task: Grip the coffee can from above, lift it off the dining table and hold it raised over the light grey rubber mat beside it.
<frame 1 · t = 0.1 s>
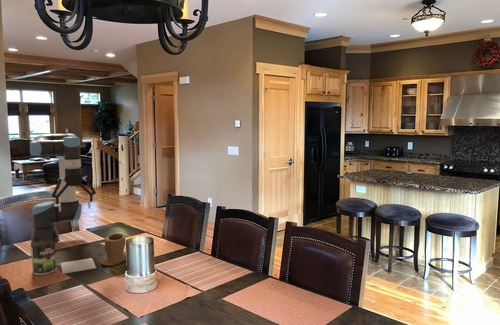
hand: (74, 209, 199), 28 cm above the table, tool pointing down, fingers open, 13 cm apart
grey mat: (78, 266, 197), on the table
coffee can: (44, 271, 191), on the table
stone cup: (116, 262, 203), on the table
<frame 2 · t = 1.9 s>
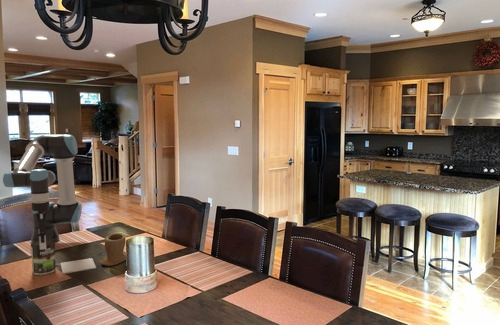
hand: (42, 245, 189), 13 cm above the table, tool pointing down, fingers open, 13 cm apart
nothing on the table moved.
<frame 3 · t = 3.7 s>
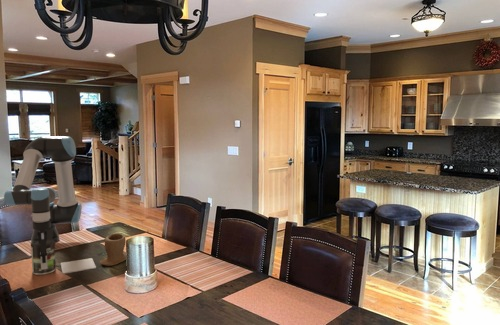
hand: (44, 265, 191), 3 cm above the table, tool pointing down, fingers closed on coffee can, 10 cm apart
coffee can: (44, 271, 191), on the table, touching gripper
everything else where it was.
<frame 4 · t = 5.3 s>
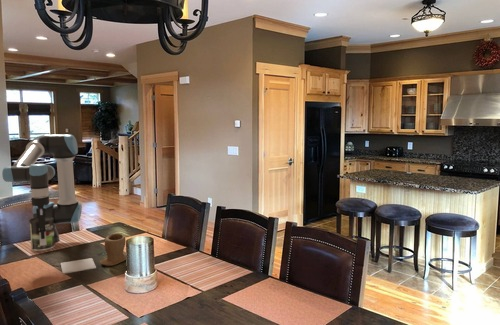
hand: (42, 241, 190), 14 cm above the table, tool pointing down, fingers closed on coffee can, 10 cm apart
coffee can: (43, 247, 190), point 11 cm above the table, touching gripper
everything else where it was.
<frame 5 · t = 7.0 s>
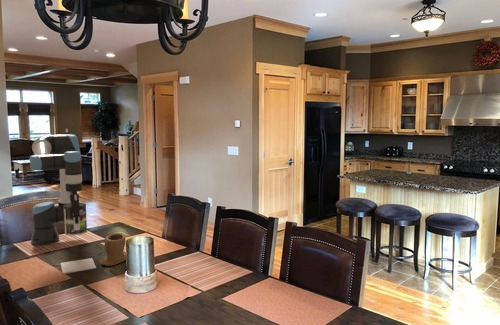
hand: (75, 227, 195), 20 cm above the table, tool pointing down, fingers closed on coffee can, 10 cm apart
coffee can: (76, 233, 196), point 17 cm above the table, touching gripper
everything else where it was.
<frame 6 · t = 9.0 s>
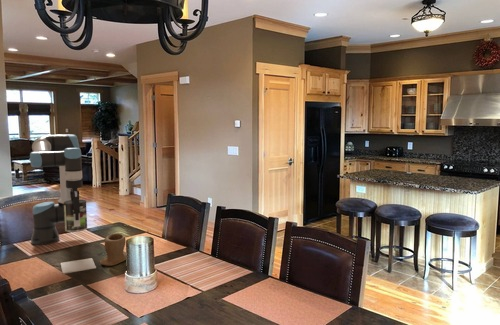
hand: (76, 223, 195), 22 cm above the table, tool pointing down, fingers closed on coffee can, 10 cm apart
coffee can: (76, 229, 196), point 19 cm above the table, touching gripper
everything else where it was.
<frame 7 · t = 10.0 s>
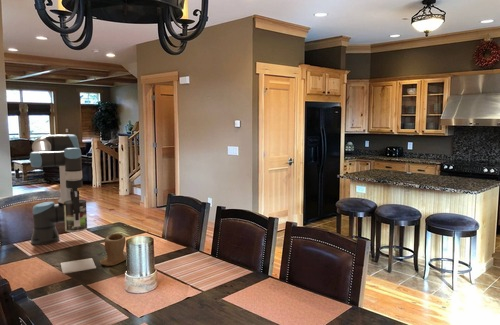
hand: (76, 223, 195), 22 cm above the table, tool pointing down, fingers closed on coffee can, 10 cm apart
coffee can: (76, 229, 196), point 19 cm above the table, touching gripper
everything else where it was.
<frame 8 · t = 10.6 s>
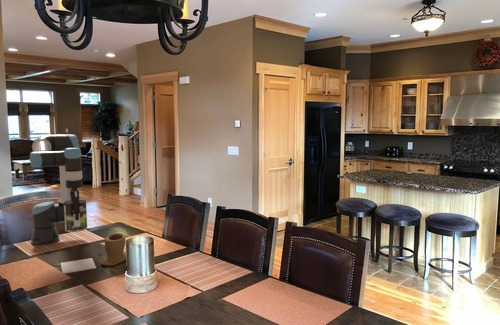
hand: (76, 223, 195), 22 cm above the table, tool pointing down, fingers closed on coffee can, 10 cm apart
coffee can: (76, 229, 196), point 19 cm above the table, touching gripper
everything else where it was.
at the end: the gripper is holding coffee can; coffee can point 18.7 cm above the table; coffee can inside the target area (0.1 cm from its centre), point 18.7 cm above the table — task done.
